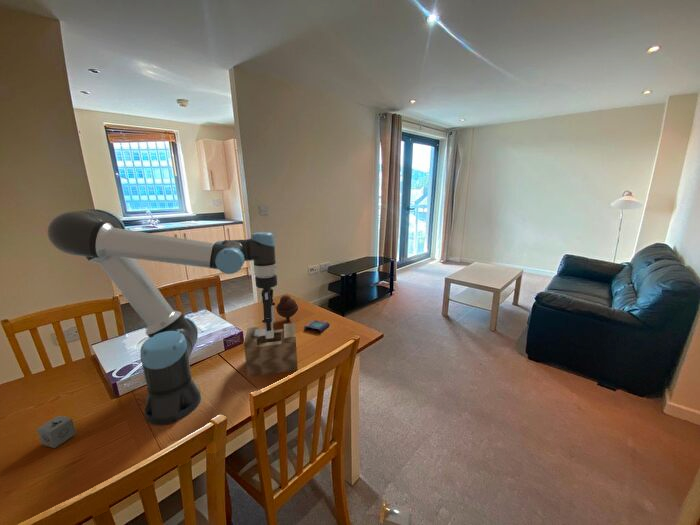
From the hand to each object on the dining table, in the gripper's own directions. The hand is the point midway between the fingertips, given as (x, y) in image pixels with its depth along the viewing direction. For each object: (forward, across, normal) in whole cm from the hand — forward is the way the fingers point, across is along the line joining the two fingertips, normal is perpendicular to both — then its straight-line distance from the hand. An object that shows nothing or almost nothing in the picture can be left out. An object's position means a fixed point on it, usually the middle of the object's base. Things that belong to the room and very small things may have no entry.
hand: (270, 329), depth 111 cm
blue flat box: (+16, +22, -18) cm, 32 cm away
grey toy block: (+15, -23, +57) cm, 63 cm away
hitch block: (+15, 0, 0) cm, 15 cm away
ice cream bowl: (+15, +35, -6) cm, 39 cm away
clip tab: (+1, 0, +6) cm, 6 cm away
